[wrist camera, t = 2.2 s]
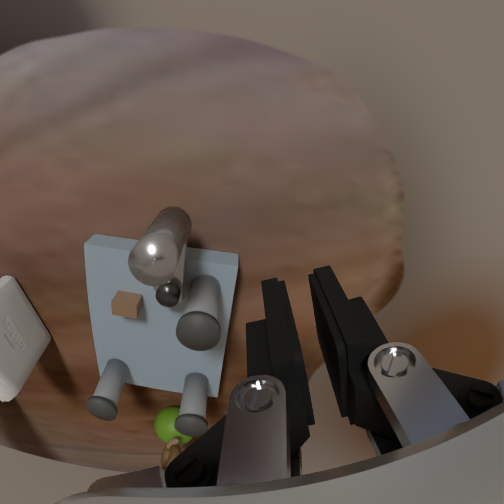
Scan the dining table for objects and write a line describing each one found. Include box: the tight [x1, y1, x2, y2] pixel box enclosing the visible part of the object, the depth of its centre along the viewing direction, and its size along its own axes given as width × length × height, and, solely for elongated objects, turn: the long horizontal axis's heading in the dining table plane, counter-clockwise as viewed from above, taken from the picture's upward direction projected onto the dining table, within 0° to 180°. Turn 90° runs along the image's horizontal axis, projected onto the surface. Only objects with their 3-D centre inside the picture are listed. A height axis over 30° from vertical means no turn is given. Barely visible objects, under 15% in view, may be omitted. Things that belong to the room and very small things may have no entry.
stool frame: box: [84, 234, 238, 437], centre depth 28 cm, size 17×14×9 cm
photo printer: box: [0, 276, 51, 402], centre depth 26 cm, size 10×4×12 cm, turn 18°
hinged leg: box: [128, 206, 192, 307], centre depth 23 cm, size 8×3×8 cm, turn 171°
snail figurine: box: [154, 406, 193, 468], centre depth 33 cm, size 5×6×12 cm
